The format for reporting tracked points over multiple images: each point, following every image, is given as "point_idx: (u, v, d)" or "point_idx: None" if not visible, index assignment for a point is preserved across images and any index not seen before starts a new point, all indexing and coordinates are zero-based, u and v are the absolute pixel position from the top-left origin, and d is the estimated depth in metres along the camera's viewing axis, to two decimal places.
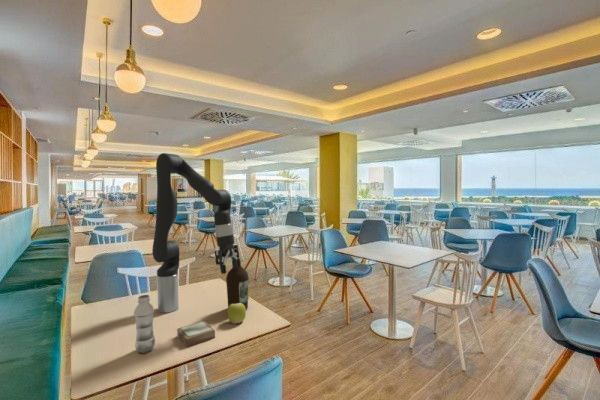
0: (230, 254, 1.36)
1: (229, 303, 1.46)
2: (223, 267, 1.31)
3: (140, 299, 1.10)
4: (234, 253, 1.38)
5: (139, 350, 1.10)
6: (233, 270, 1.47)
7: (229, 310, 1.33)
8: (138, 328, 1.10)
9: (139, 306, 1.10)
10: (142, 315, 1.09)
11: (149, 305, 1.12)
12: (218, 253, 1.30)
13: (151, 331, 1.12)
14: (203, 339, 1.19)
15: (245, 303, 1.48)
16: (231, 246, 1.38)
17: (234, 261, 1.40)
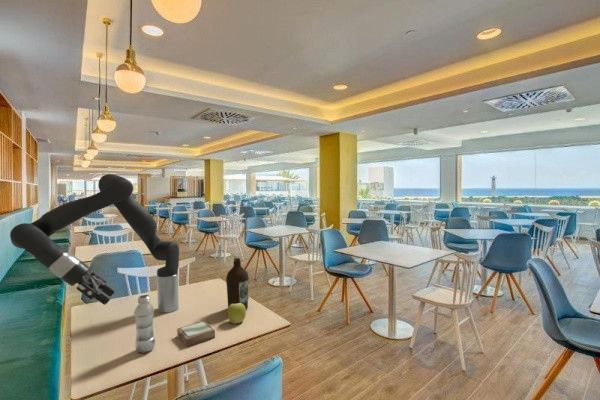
0: None
1: (229, 303, 1.46)
2: None
3: (140, 299, 1.10)
4: None
5: (139, 350, 1.10)
6: (233, 270, 1.47)
7: (229, 310, 1.33)
8: (138, 328, 1.10)
9: (139, 306, 1.10)
10: (142, 315, 1.09)
11: (149, 305, 1.12)
12: None
13: (151, 331, 1.12)
14: (203, 339, 1.19)
15: (245, 303, 1.48)
16: None
17: None
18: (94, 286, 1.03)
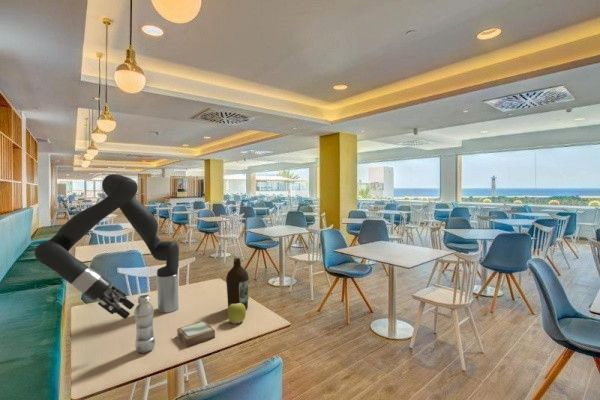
0: None
1: (229, 303, 1.46)
2: None
3: (140, 299, 1.10)
4: None
5: (139, 350, 1.10)
6: (233, 270, 1.47)
7: (229, 310, 1.33)
8: (138, 328, 1.10)
9: (139, 306, 1.10)
10: (142, 315, 1.09)
11: (149, 305, 1.12)
12: None
13: (151, 331, 1.12)
14: (203, 339, 1.19)
15: (245, 303, 1.48)
16: None
17: None
18: (115, 301, 1.06)
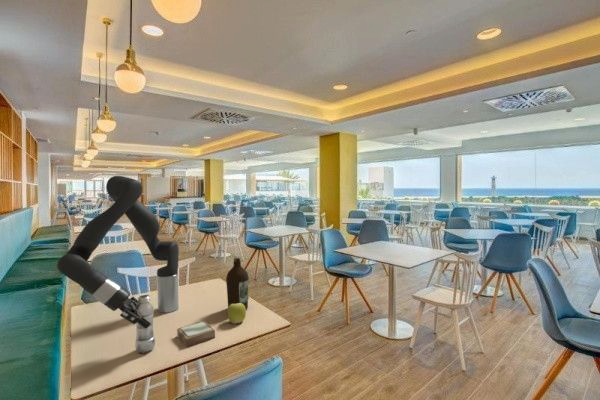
0: None
1: (229, 303, 1.46)
2: None
3: (140, 299, 1.10)
4: None
5: (139, 350, 1.10)
6: (233, 270, 1.47)
7: (229, 310, 1.33)
8: (138, 328, 1.10)
9: (139, 306, 1.10)
10: (142, 315, 1.09)
11: (149, 305, 1.12)
12: None
13: (151, 331, 1.12)
14: (203, 339, 1.19)
15: (245, 303, 1.48)
16: None
17: None
18: (135, 311, 1.08)
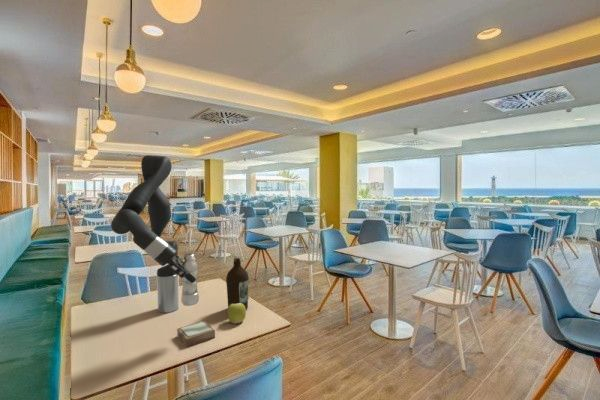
0: None
1: (229, 303, 1.46)
2: None
3: (186, 256, 1.18)
4: None
5: (185, 303, 1.18)
6: (233, 270, 1.47)
7: (229, 310, 1.33)
8: (184, 283, 1.18)
9: (185, 262, 1.18)
10: (188, 270, 1.17)
11: (194, 262, 1.20)
12: None
13: (196, 286, 1.20)
14: (203, 339, 1.19)
15: (245, 303, 1.48)
16: None
17: None
18: (183, 267, 1.17)
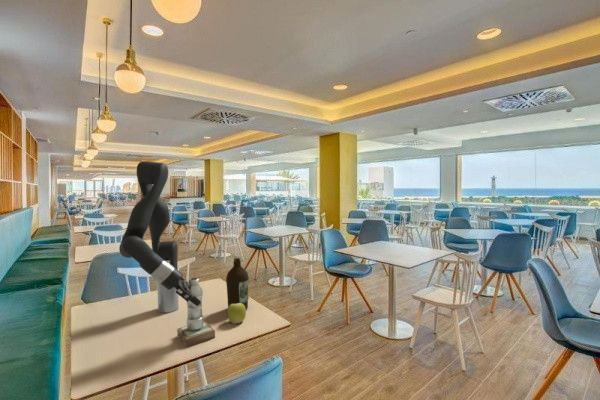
0: None
1: (229, 303, 1.46)
2: None
3: (191, 281, 1.20)
4: None
5: (191, 328, 1.19)
6: (233, 270, 1.47)
7: (229, 310, 1.33)
8: (189, 308, 1.20)
9: (190, 287, 1.20)
10: None
11: (199, 287, 1.21)
12: None
13: (201, 311, 1.22)
14: (203, 339, 1.19)
15: (245, 303, 1.48)
16: None
17: None
18: (188, 290, 1.18)
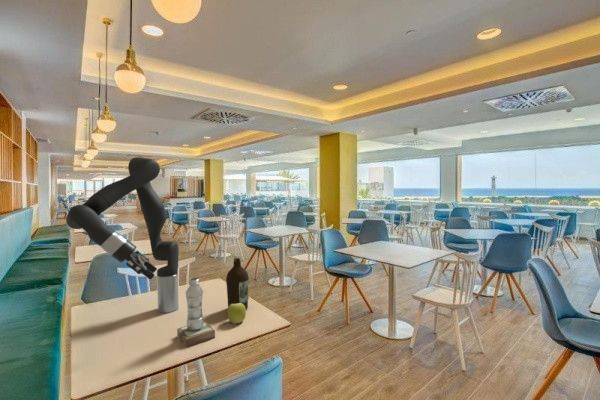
0: None
1: (229, 303, 1.46)
2: None
3: (191, 281, 1.20)
4: None
5: (191, 328, 1.19)
6: (233, 270, 1.47)
7: (229, 310, 1.33)
8: (190, 308, 1.20)
9: (190, 287, 1.20)
10: (194, 295, 1.19)
11: (199, 287, 1.21)
12: None
13: (201, 311, 1.22)
14: (203, 339, 1.19)
15: (245, 303, 1.48)
16: None
17: None
18: (140, 262, 1.13)
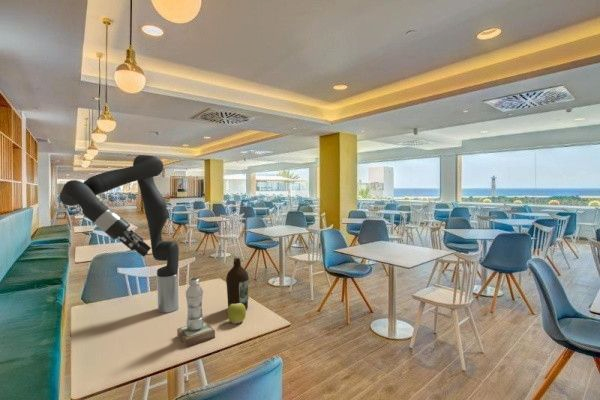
0: None
1: (229, 303, 1.46)
2: None
3: (191, 281, 1.20)
4: None
5: (191, 328, 1.19)
6: (233, 270, 1.47)
7: (229, 310, 1.33)
8: (190, 308, 1.20)
9: (190, 287, 1.20)
10: (194, 295, 1.19)
11: (199, 287, 1.21)
12: None
13: (201, 311, 1.22)
14: (203, 339, 1.19)
15: (245, 303, 1.48)
16: None
17: None
18: (134, 239, 1.13)
